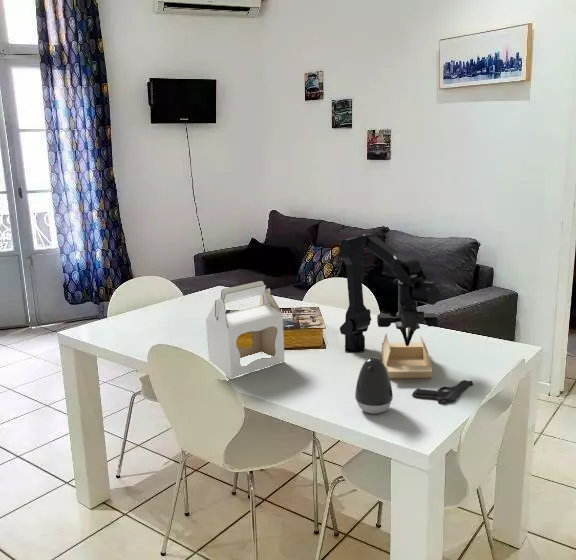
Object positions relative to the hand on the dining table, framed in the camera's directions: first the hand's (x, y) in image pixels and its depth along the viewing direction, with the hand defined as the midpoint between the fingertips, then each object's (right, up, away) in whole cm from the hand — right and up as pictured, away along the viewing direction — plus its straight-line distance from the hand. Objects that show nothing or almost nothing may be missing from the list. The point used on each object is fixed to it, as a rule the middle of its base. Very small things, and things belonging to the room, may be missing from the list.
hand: (407, 345), depth 197 cm
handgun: (+7, -12, -16) cm, 22 cm away
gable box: (-52, -8, +9) cm, 53 cm away
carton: (0, -7, +2) cm, 8 cm away
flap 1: (-7, -3, +1) cm, 8 cm away
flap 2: (+6, -3, 0) cm, 7 cm away
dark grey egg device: (-14, -15, -27) cm, 34 cm away
